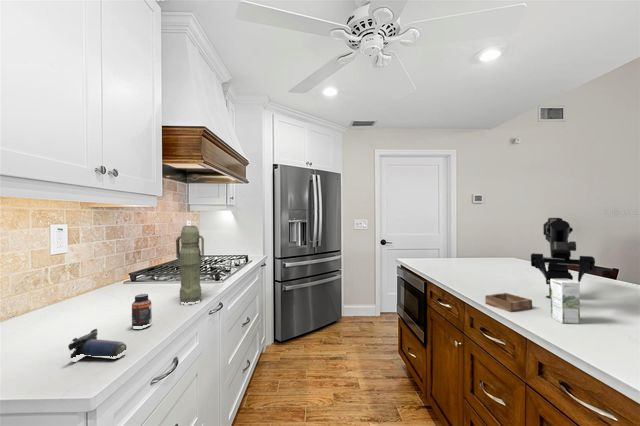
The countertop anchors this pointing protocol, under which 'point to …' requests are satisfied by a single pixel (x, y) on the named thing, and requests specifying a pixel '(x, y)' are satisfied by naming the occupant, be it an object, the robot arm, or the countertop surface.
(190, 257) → the thermos
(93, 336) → the spiky navy capsule
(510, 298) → the walnut caddy
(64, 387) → the countertop surface
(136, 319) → the supplement bottle
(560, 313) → the syrup box
